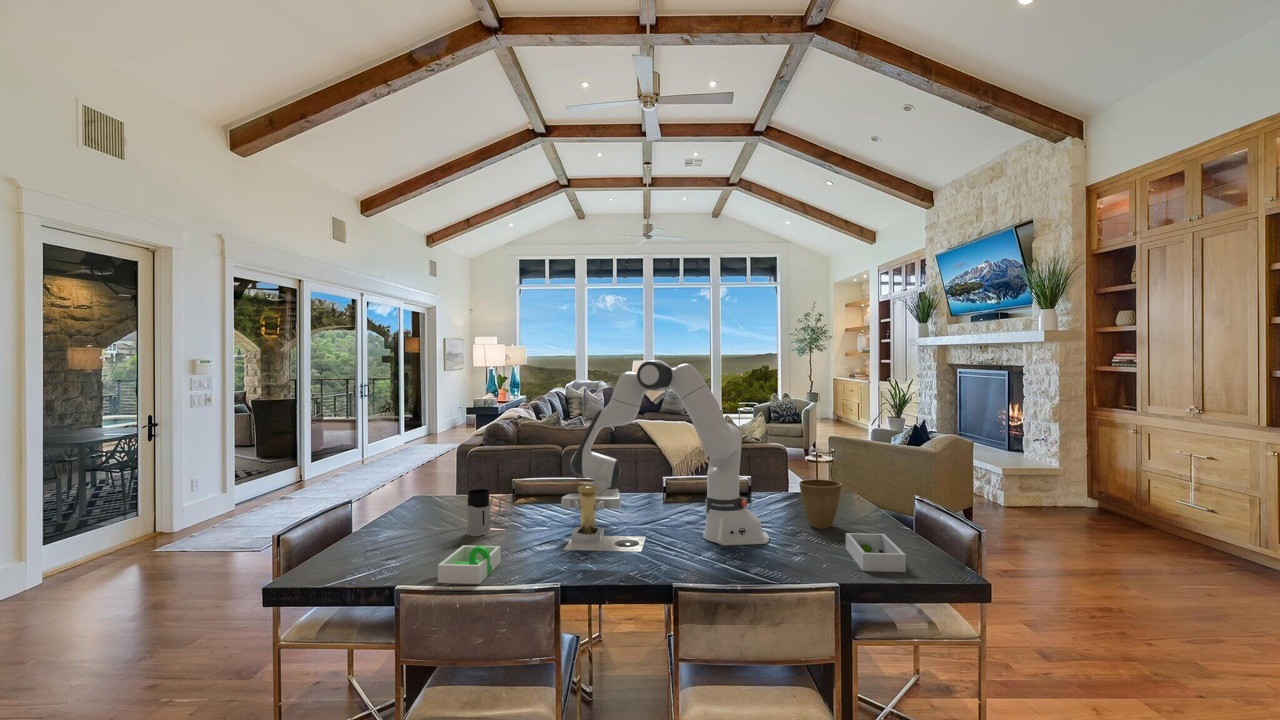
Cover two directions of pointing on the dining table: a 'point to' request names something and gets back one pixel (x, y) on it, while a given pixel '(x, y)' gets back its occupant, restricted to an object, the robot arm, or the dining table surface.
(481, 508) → the glass holder
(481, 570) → the parts tray
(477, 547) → the mechanical part
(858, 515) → the dining table surface
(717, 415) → the robot arm
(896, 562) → the flower tray
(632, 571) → the dining table surface
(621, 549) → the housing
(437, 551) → the dining table surface
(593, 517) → the brass flanged pin
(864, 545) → the decorative flower
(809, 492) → the plant pot
